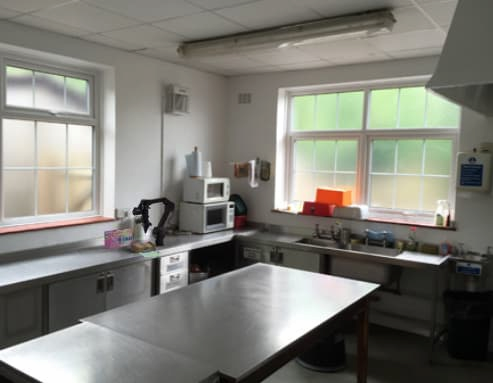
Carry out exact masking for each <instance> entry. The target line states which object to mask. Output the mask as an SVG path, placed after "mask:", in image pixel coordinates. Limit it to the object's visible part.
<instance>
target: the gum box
mask: <svg viewBox="0 0 493 383" xmlns="http://www.w3.org/2000/svg"><path fill="white" fill-rule="evenodd" d="M103 232H104V233H103V234H104V235H103V239H104V248H105V249H109V250H111V249H116V248H121V247H127V246H130V243H133V244H134V238H133V236H134V234H133V229H132V228H131V229H130V228H129V227H127V228H121V229H120V228H119V229H113V230H106V231H105V230H104V231H103Z"/></svg>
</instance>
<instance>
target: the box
mask: <svg viewBox="0 0 493 383" xmlns="http://www.w3.org/2000/svg"><path fill="white" fill-rule="evenodd" d="M129 246H130V247H129V248H130V250H131V251H133V252H134V253H135V254H139V253H141V252H143V250H151V251H155V252H157V246H156V245H155V242H152V241H150V240H148V241H147V242H136V243H135V242H133V243H130V245H129Z"/></svg>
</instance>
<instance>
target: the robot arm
mask: <svg viewBox="0 0 493 383" xmlns="http://www.w3.org/2000/svg"><path fill="white" fill-rule="evenodd" d="M159 203H162V204H163V205H164V207H163V208H164V211H163V213H162V215H161V218H160V220H159V222H158V224H157V226H154V227H153V229H152V236H153V237H154V244H155V245H156V247H163V246H165V244H164V241H165V240H164V239H165V238H166V235H165V234H164V227H165V225H166V222H167V221H168V218H169V215H170V213H171V212H173V210H174V209H175V207H176V204H175V202H173V201H171V200H170V199H169V198H167V197H166V196H160V197H157V198H156V197H155V198H150V199H149V198H146V199H145V198H142V199H141V200H140V202H139V204H138V206H137V207H136V206H134V207H133V209H132V212H131V213H132V215H133V216H136V217H137V216H140V217H138V218H135V219H134V220H133V221H134V223H135V225H138V224H140V226H141V227H142V228H143V233H144V234H147V233H148V230H149V228H150V227H152V226H153V223H152V222H150V219H149V218H150V215H149V214H150V213H149V212H150V211H149V210H150V209H152V207H151V206H152V205H155V204H159Z"/></svg>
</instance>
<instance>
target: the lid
mask: <svg viewBox="0 0 493 383" xmlns="http://www.w3.org/2000/svg"><path fill="white" fill-rule="evenodd" d="M138 255H140V256H142V257H144V258H155V257H156V258H157V257H162V255H161V254H160V253H158V252H157V251H151V250H143V252H141V253H138Z"/></svg>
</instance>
